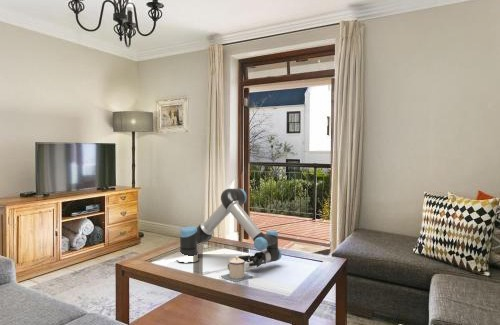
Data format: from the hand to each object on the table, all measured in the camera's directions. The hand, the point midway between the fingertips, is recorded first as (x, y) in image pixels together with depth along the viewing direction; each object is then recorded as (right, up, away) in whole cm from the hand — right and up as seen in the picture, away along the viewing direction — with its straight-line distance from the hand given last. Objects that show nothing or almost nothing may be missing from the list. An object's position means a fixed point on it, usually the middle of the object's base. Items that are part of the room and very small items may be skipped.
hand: (236, 263), depth 179 cm
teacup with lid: (-1, -7, -1) cm, 7 cm away
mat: (0, -8, 0) cm, 8 cm away
